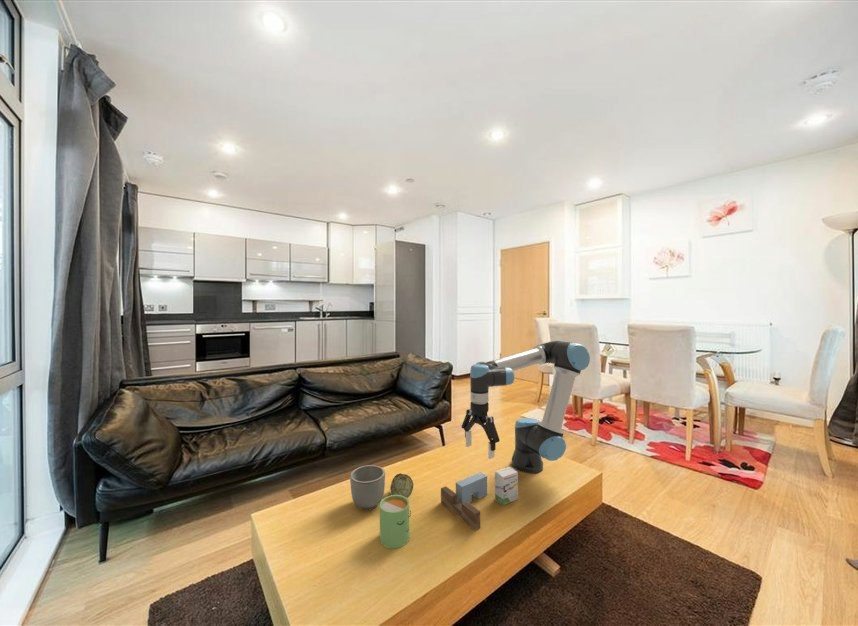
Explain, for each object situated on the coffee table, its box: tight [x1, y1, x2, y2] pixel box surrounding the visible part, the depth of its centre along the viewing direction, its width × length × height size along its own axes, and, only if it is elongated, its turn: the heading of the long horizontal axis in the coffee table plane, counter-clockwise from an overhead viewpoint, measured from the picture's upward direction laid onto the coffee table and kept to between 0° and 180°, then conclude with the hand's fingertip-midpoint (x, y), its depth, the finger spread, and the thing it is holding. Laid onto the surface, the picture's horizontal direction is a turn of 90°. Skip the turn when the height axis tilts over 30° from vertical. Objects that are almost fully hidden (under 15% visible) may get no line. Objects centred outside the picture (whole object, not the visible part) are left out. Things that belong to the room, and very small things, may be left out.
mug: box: [379, 494, 412, 549], centre depth 113 cm, size 13×10×12 cm
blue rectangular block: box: [455, 471, 488, 505], centre depth 135 cm, size 14×4×8 cm, turn 125°
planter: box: [349, 464, 386, 511], centre depth 131 cm, size 14×14×13 cm
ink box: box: [494, 466, 519, 506], centre depth 134 cm, size 8×5×12 cm, turn 118°
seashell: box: [389, 472, 414, 499], centre depth 136 cm, size 11×11×10 cm
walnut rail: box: [440, 485, 481, 531], centre depth 124 cm, size 2×20×6 cm, turn 35°
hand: (479, 451), depth 137 cm, fingers open, 13 cm apart
